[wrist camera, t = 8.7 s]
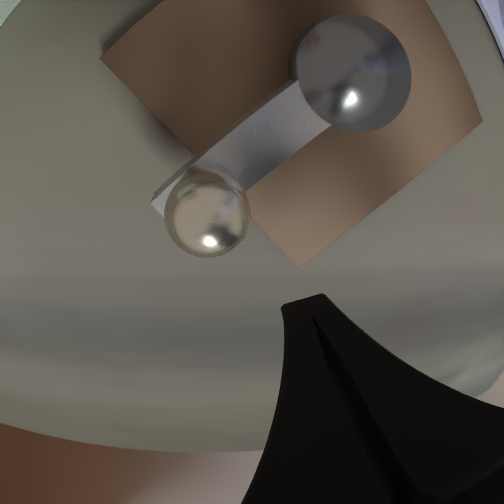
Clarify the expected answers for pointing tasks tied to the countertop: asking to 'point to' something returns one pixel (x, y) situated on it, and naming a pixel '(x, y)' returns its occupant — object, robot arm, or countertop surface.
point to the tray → (7, 8)
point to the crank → (286, 128)
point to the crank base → (275, 75)
